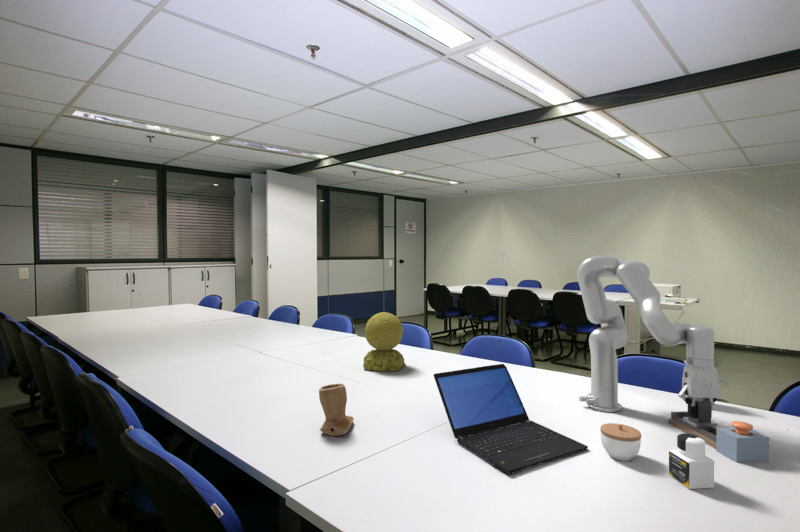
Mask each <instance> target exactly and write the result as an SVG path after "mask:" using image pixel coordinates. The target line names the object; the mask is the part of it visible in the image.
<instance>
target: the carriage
mask: <svg viewBox="0 0 800 532" xmlns="http://www.w3.org/2000/svg"><path fill="white" fill-rule="evenodd" d="M691 401H692V398H691ZM695 406H696V407H697V418H696V419H694V418H692V417H690V416H688V417H683V421H685V422H686V423H688V424H690V425H692V426H694V427H696V428H701V429H703V430H705V431H710V427H715V428H718V425H717V424H718V423H716V422H714V421H713V420H712V418H711V401H708V400H706V399H704V398H702V399H697V400H696V404H695Z"/></svg>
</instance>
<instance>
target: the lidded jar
mask: <svg viewBox="0 0 800 532" xmlns="http://www.w3.org/2000/svg"><path fill="white" fill-rule="evenodd" d="M600 439H601V443H602V446H603V448H604V450H605V451H606V452H607V453H608V456H610V457H611V458H613V459H615V460H617V461H623V462H624V461H625V462H626V461H631V460H632V459H634V458H635V457H636V456H637V455H638V453H639V451H640V448H641V444H642V443H641V442H642V440H641V439H642V433H641V432H640V431H639V430H638V429H637V428H635V427H633V426H629V425H626V424H622V423H614V422H613V423H612V422H611V423H610V422H609V423H605V424H602V425H600Z"/></svg>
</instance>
